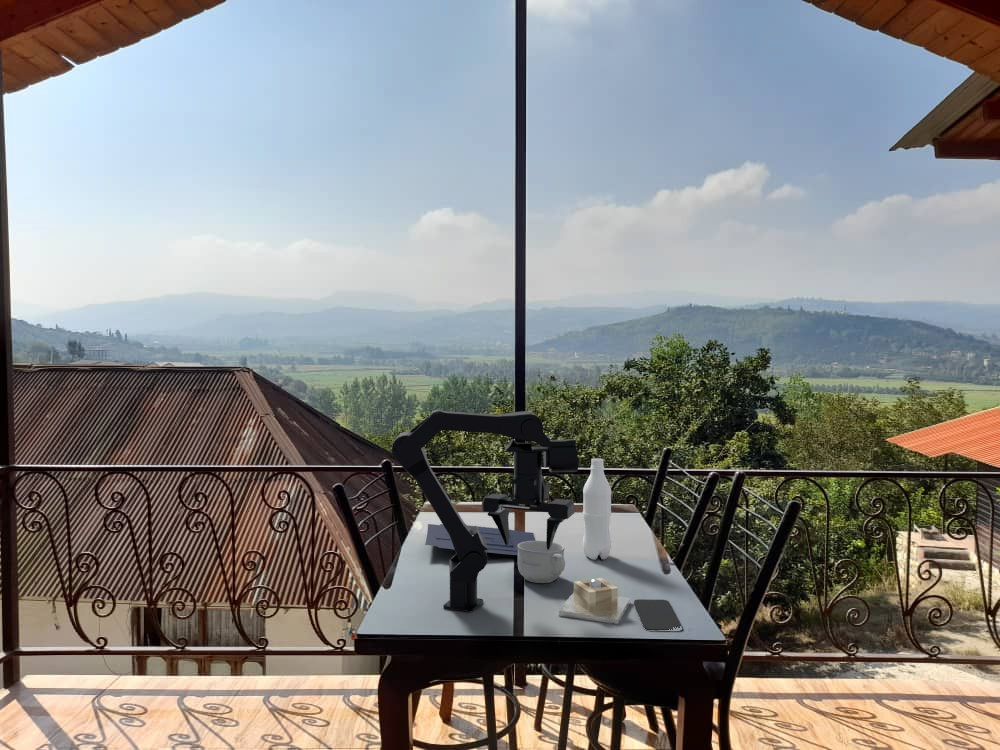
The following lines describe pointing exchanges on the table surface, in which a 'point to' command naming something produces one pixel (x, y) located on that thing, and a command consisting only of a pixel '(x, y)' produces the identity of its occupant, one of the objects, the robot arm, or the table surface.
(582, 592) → the collar
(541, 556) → the teacup
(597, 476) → the water bottle
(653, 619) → the phone
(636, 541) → the table surface
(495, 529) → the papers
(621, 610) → the stand
